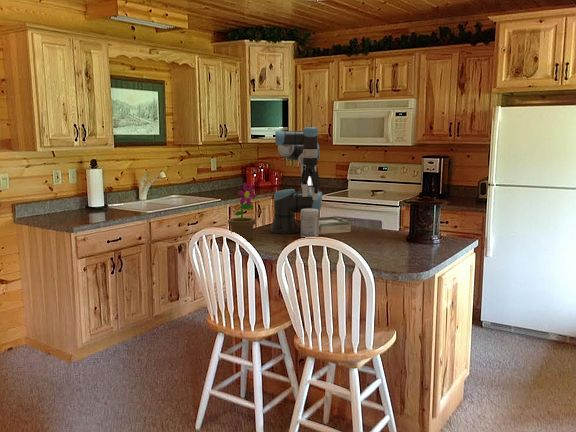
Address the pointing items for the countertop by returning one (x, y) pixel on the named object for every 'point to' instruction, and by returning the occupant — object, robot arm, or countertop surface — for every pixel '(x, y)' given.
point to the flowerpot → (242, 224)
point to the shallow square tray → (333, 225)
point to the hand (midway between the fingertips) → (309, 198)
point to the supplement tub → (309, 222)
